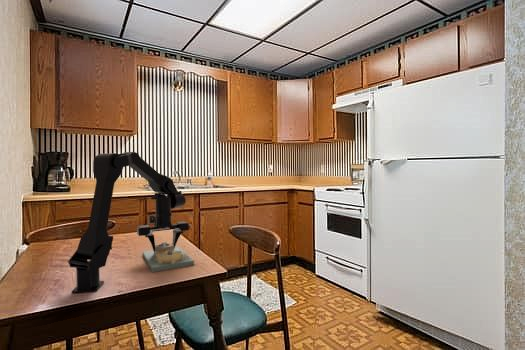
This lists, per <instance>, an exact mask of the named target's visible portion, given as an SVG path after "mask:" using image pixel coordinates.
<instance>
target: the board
mask: <svg viewBox="0 0 525 350" xmlns="http://www.w3.org/2000/svg"><path fill="white" fill-rule="evenodd" d="M142 256H143V258H144V260H145V262H146V264H147V266H148V267H149V269H150V271H151V273H156V272H161V271H162V272H163V271H168V270H172V269H178V268H183V267H189V266H194V265H195V260H194V259H193V258H192V257H190V256H189V255H188V254H187V253H186V252H185V251H184V250H183V249H182V248H181V247H180V246H175V248H174V251H165V252H163V253H160V254H157V255H155V254H154V251H153V249H150V250H144V251H143V250H142Z"/></svg>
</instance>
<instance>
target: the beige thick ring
mask: <svg viewBox="0 0 525 350" xmlns="http://www.w3.org/2000/svg"><path fill="white" fill-rule="evenodd" d="M161 243H162V242H161ZM161 243H157V244H156V243H155V252H154V254H155V255H157V254H160V253H163V252H165V251H174V244H172V243H173V242H167V246H165V247H161Z"/></svg>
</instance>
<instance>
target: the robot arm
mask: <svg viewBox="0 0 525 350" xmlns="http://www.w3.org/2000/svg"><path fill="white" fill-rule="evenodd" d="M92 162H93V163H92V173H93V176H94V178H95V181H96V182H95V189H94V193H93V199H92V204H91V210H90V216H89V222H88V227H87V230H85V231H84V233H83V234H82V236H81V237H80V240H79V243H78V246H77V249H76V251H74V253H73V254H72V256H71V257H70V258H69V260H68V261H67V262H68V265H69V266H70V268H75V270H76V271H75V272H76V286H75V287H74V288H73V289H72V291H71V294H77V293H88V292H89V293H90V292H97V291H98V290H99V289H100V288H101V287H102V285H104V284H105V281H104V280H100V279H101V278H100V268H103V267H105V266H106V264H107V260H108V257H109V255H110V253H111V251H112V250H113V241H114V235H110V234H109V232H108V224H109V217H110V213H111V212H110V211H111V207H112V201H113V200H112V199H113V194H114V187H115V185H116V184H115V183H116V182H117V181H118V179H119V178H120V176H121V175H122V172H123V169H124V168H127V167H129V168H131V169H132V170H133V171H135V172H136V173H137V174H138V175H139V176H141V177H142V178H143V179H145V181H147V183H148V186H149V188H150V189H151V190H152V191H153V192H154V194H153V195H152V196H151V197H150V199H151V200H154V201H155V214H152V215H150V214H149V215H148V224H149V225H148V224H145V225H144V224H143V225H138V226H137V227H136V234H137V236H139V237H143V236H144V237H145V238H148V240H149V242H150V244H151V248H152V250H153V251H154V252H155V245H156V241H155V234H153V233H155V232H162V231H163V232H165V231H171V230H172V242H171V243H172V244H174V248H175V247H177V246H176V245H177V243H178V240H179V238H180V236H181V235H182V234H184V232H185V231H190V224H189V223H188V222H187V221H184V220H183V221H176V222H175V224H172V209H177V208H182V207H184V206H185V204H186V202H187V201H186V200H187V199H186V197H185V195H184V194H183V193H182V190H178V188H177V187H176V184H175V183H174V180H173V179H172V178H170V177H169V176H167V175H165V174H161V173H160V172H158V171H157V170H156V169H154V167H152V166H151V165H150V164H149V163H148V162H147V161H145V160H144V159H143V158H142V157H141V156H140V154H139V153H138V152H136V151H124V152H121V153H116V152H115V153H113V152H112V153H110V152H109V153H99V154H98V155H96V156H94V158H93V161H92ZM151 224H153V226H150V225H151Z"/></svg>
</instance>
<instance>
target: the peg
mask: <svg viewBox="0 0 525 350" xmlns="http://www.w3.org/2000/svg"><path fill="white" fill-rule="evenodd" d="M167 243H168V242H167V241H162V242H161V247H165V246H167Z"/></svg>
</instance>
